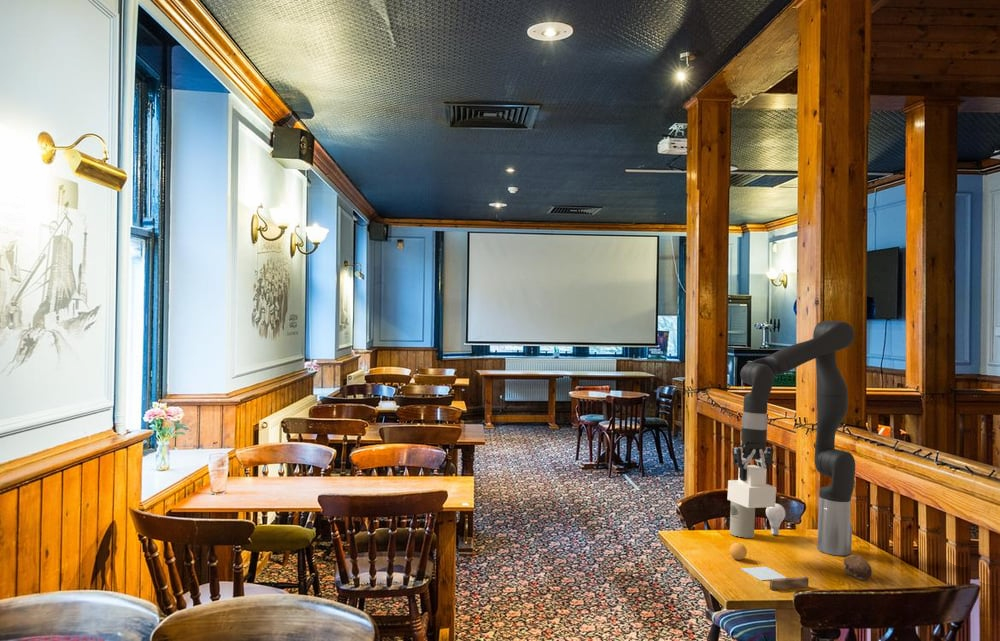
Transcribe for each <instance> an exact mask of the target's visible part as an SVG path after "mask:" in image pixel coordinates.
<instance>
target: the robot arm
mask: <svg viewBox="0 0 1000 641" xmlns="http://www.w3.org/2000/svg"><path fill="white" fill-rule="evenodd" d="M855 336H856V335H855V329H854V327H853V326H852V324H850V323H848V322H846V321H841V320H822V321H819V322H818V323H817V324H816V325H815V327H814V329H813V332H812V337H813V338H811V339H808V340H805V341H801V342H798V343H794V344H791V345H789V346H786V347H784V348H781V349H779V350H778V351H776V352H774V353H772V354H770V355H767V356H765V357H764V356H763V357H761V358H757V359H755V360H752V361H750V362H748V363H746V364H745V365H744V366H743V367H741V370H740V374H739V375H740V379H741V381H742V382H743V383H745V384H747V385H750V386H752V387H751V391H750V392H749V393H746V394H745V395H744V397H743V408H742V411H743V412H742V416H741V417H742V418H741V433H740V435H741V436H740V440H741V445H740V446H738V447H736V446H733V447H732V456H733V457H732V458H733V465H734V466H736V467H738V469H739V468H740V472H739V471H738V473H740V474H739V477H740V480H742V481H746V480H747V469H746V468H747V466H748V465H750V463H751V462H752V460H754V461H755V462H756V464H757V465H756V466H759V467H762V468H765V469H767V468H768V467H769V468H770V467H771V466H772V461H773V455H774V451H775V449H774V448H773V447H770V446H766V444H767V439H768V400H769V397H770V395H771V392H772V389H773V385H774V379H775V377H774V376H779V375H780V376H781V375H783V374H786V373H788V372H790V371H791V370H794V369H795V368H797V367H800V366H802V365H803V364H805V363H807V362H811V361H812V360H815V365H816V366H815V367H816V368H815V371H816V415H817V416H816V417H817V418H816V438H815V439H816V440H815V446H814V447H815V449H814V450H815V451H814V466H815V468H816V470H817V472H818V473H819V474H821V475H824V476H827V477H831V478H832V480H831V484H830V485H826V486H822V487H820V488H819V491H818V492H819V494H818V516H817V518H818V519H817V544H816V546H817V547H816V548H817V549H816V550H818V551H819V552H822V553H823V554H824V553H825V554H827V555H832V556H849V554H852V541H853V523H851V505H852V504H851V500H852V495H853V492H854V487H855V478H856V477H855V476H856V459H855V457H854V456H853V454H852V453H851V452H850V451H846V450H842V449H837V448H835V443H836V442H835V441H836V439H835V438H836V432H837V431H838V428H839V426H840V425H841V423H842V422H843V421H844V419H845V417H846V415H847V413H848V411H849V391H848V385H847V384H846V381H845V380H844V377H843V375H842V373H841V372H840V370H839V367H838V364H837V358H836V357H837V356H836V352H838V351H840V350H841V351H842V350H844V349H847V348H848V347H850V346H851V345H852V344H853V342H854V340H855Z"/></svg>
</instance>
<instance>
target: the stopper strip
mask: <svg viewBox="0 0 1000 641" xmlns="http://www.w3.org/2000/svg"><path fill="white" fill-rule="evenodd" d="M809 582H810V581H809V577H807V576H800V577H787V578H785V579H773V580H769V590H771V591H777V590H776V589H781V590H787V589H786V588H793V589H802V588H803V589H804V588H809Z"/></svg>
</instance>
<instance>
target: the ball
mask: <svg viewBox="0 0 1000 641" xmlns="http://www.w3.org/2000/svg"><path fill="white" fill-rule="evenodd" d="M729 553H730V555H731V557H732V559H734V560H738V561H741V560H743V559H745V558H746V557H747V554H748V552H747V548H746V546H745V545H744V544H742V543H741V542H735V543H732V545H730V546H729Z"/></svg>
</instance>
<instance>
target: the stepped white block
mask: <svg viewBox="0 0 1000 641" xmlns="http://www.w3.org/2000/svg"><path fill="white" fill-rule="evenodd" d="M746 469H747V480H746V481H742V480H740V477H739V474H740V473H739V472H740V468H739V467H738V474H737V475H738V478H737V479H729V480H727V497H726V498H727V501H730V502H731V501H732V502H735V503H737V504H740V505H742V506H745V507H747V508H755V509H756V508H757V509H759V508H762V509H763V508H767V507H775V503H776V499H777V498H776V497H777V486H773V485H770V484H767V468H766V469H765V468H762V467H759V466H758V465H755V464H748V466H747V468H746Z"/></svg>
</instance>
